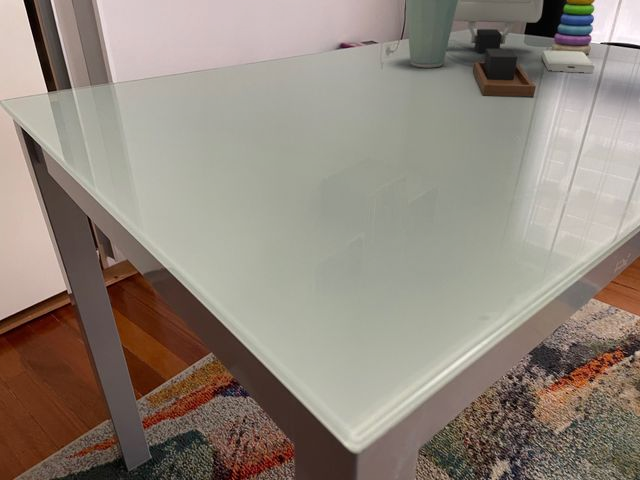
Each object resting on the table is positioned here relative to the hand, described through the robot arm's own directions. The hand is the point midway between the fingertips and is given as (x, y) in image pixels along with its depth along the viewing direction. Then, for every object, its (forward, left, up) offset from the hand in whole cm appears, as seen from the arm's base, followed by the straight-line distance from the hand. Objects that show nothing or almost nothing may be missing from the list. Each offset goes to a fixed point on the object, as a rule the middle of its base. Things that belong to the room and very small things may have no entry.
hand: (487, 43), depth 118 cm
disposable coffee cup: (+14, +16, -2) cm, 21 cm away
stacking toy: (-18, 0, -2) cm, 18 cm away
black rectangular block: (+1, +26, -1) cm, 26 cm away
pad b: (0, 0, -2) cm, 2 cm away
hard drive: (-14, +13, -2) cm, 19 cm away
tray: (+1, +29, -2) cm, 29 cm away
